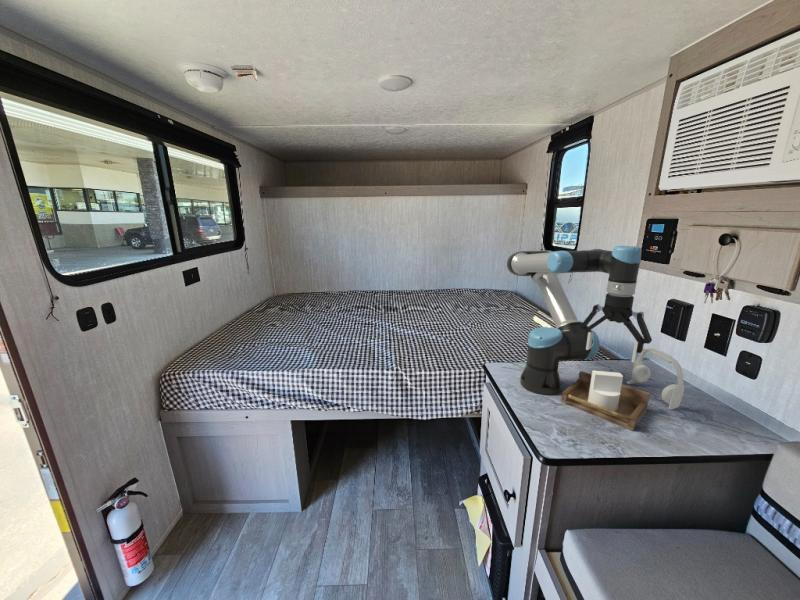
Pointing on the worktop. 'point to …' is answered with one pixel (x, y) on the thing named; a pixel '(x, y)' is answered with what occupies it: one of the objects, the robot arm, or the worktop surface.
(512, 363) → the worktop surface
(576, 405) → the caddy
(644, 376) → the headset
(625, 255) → the robot arm
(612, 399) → the cylinder with rectangular tab
